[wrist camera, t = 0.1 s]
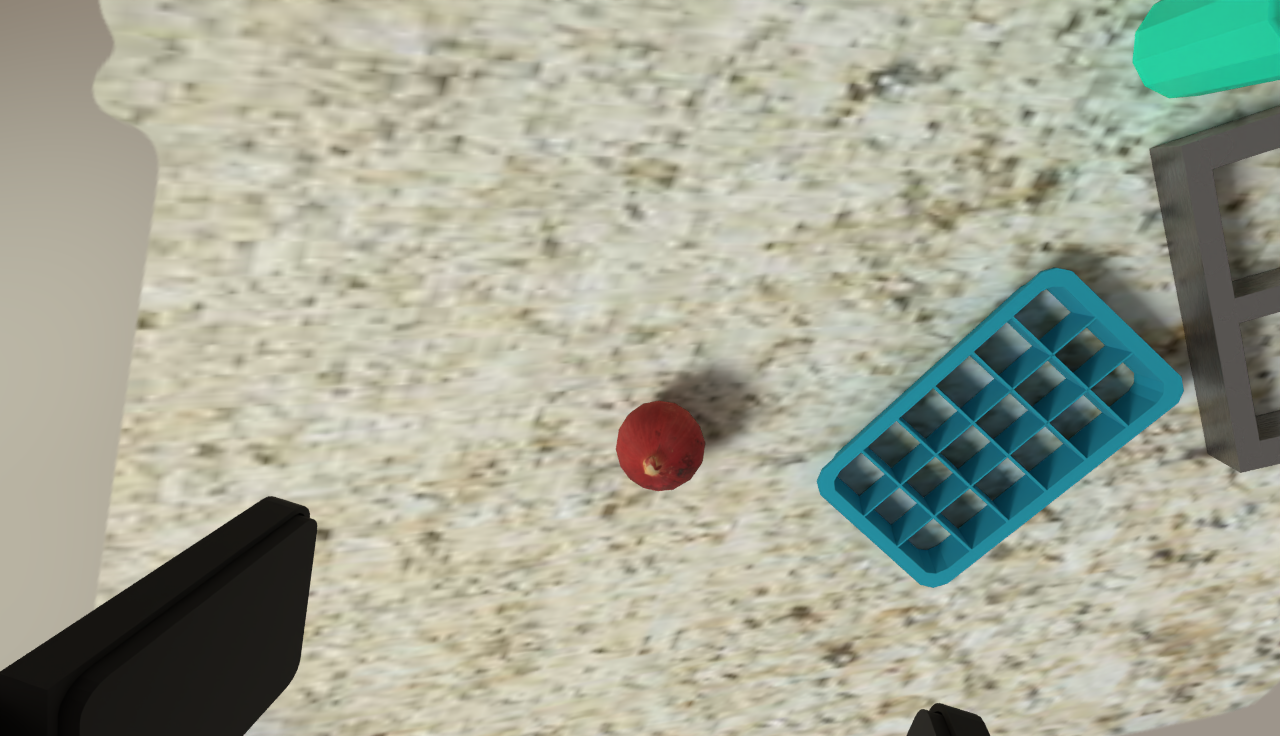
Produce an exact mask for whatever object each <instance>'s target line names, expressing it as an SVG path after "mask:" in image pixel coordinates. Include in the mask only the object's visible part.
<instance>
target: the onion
mask: <svg viewBox="0 0 1280 736" xmlns="http://www.w3.org/2000/svg"><path fill="white" fill-rule="evenodd" d="M704 448H705V441H704V438H703V435H702V432H701V429H700V426H699V424H698V423H697V422H696V421H695V419H694V418H693V417H692V416H691V414H690V413H689V412H688V411H687V410H685V409H683V408H682V407H680V406H678V405H677V404H675V403H670V402H663V401H655V402H650V403H645V404H642V405H641V406H639V407H638V408H636V409H635V410H634V411H632V412H631V413H630V414H629V415H628V416H627V417H626V419H625V421H624V422H623V424H622V425H621V427H620V429H619V433H618V439H617V446H616V451H617V455H618V459H619V462H620V466H621V468H622V469H623V470H624V472H625V473H626V474H627V476H628V477H629V478H630V480H632V481H633V482H635V483H637V484H638V485H640V486H641V487H643V488H646V489H651V490H655V491H664V490H673V489H675V488H677V487H678V486H680V485H682V484H684V483H685V482H687V481H689V480H690V479H691V478H692V477H693V475H694V474H695V472H696V471H697V470H698V468H699V467H700V465H701V464H702V461H703V455H704Z"/></svg>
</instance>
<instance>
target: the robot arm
mask: <svg viewBox="0 0 1280 736" xmlns="http://www.w3.org/2000/svg"><path fill="white" fill-rule="evenodd" d="M316 534H317V523H316V521H315V520H314V519H311V518H310V513H309V509H308V508H307V507H305V506H302V505H299V504H296V503H293V502H290V501H286V500H283V499H280V498H277V497H273V496H269V497H266V498H264V499H262V500H261V501H259V502H258V503H256V504H255V505H253V506H252V507H250V508H249V509H247V510H246V511H244V512H243V513H241V514H239V515H238V516H236V517H235V518H233V519H232V520H230V521H229V522H227V523H226V524H224V525H223V526H221V527H220V528H218V529H217V530H215V531H214V532H212V533H211V534H209V535H207V536H206V537H204V538H203V539H201V540H200V541H198V542H197V543H195V544H194V545H192V546H191V547H189V548H188V549H186V550H185V551H183V552H182V553H180V554H179V555H177V556H175V557H174V558H172V559H171V560H169V561H168V562H166V563H165V564H163V565H162V566H160V567H159V568H157V569H156V570H154V571H153V572H151V573H150V574H148V575H147V576H145V577H144V578H142V579H140V580H139V581H137V582H136V583H134V584H133V585H131V586H130V587H128V588H127V589H125V590H124V591H122V592H121V593H119V594H118V595H116V596H115V597H113V598H112V599H110V600H108V601H107V602H105V603H104V604H102V605H101V606H99V607H98V608H96V609H95V610H93V611H92V612H90V613H89V614H88V615H86V616H84V617H83V618H81V619H80V620H78V621H76V622H75V623H73V624H72V625H70V626H69V627H67V628H66V629H64V630H63V631H61V632H60V633H58V634H57V635H55V636H54V637H52V638H51V639H49V640H48V641H46V642H45V643H43V644H41V645H40V646H38V647H37V648H35V649H34V650H32V651H31V652H29V653H28V654H26V655H25V656H23V657H22V658H20V659H19V660H17V661H16V662H14V663H13V664H11V665H9V666H8V667H6V668H5V669H3V670H2V671H0V736H243V735H244V734H245V733H246V732H247V731H248V730H249V729H250V727H251V726H252V725H253V724H254V723H255V722H256V721H257V720H258V719H259V717H260V716H261V715H262V714H263V713H264V712H265V711H266V710H267V709H268V708H269V706H270V705H271V704H272V703H273V702H274V701H275V700H276V699H277V698H278V696H279V695H280V694H281V693H282V692H283V691H284V690H285V689H286V688H287V686H288V685H289V684H290V682H291V681H292V679H293V677H294V676H295V674H296V671H297V669H298V666H299V663H300V658H301V650H302V643H303V635H304V627H305V619H306V612H307V604H308V596H309V589H310V581H311V573H312V565H313V558H314V550H315V542H316ZM907 736H990V734H989V732H988V730H987V727H986V725H985V723H984V722H983V720H982V718H981V717H979V716H978V715H976V714H973V713H970V712H967V711H964V710H960V709H957V708H954V707H951V706H947V705H944V704H941V703H936V704H934V705H933V706H932V707H931V708H930V710H929V711H928V710H925V709H921V710H920V711H919V712H918V713H917V714H916V716H915V718H914V720H913V723H912V725H911V727H910V729H909V731H908V733H907Z"/></svg>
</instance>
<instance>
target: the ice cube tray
mask: <svg viewBox="0 0 1280 736" xmlns="http://www.w3.org/2000/svg"><path fill="white" fill-rule="evenodd" d="M1046 289H1047V290H1048V291H1049V292H1050V293H1051V294H1052V295H1053V296H1054V297H1055V298H1056V299H1058V300H1059V301H1060V302H1061V303H1062V304H1063V305H1064V306H1065V307H1066V308H1067V309H1068V310H1069V311H1070V312H1071V313H1069V314H1068V315H1067V316H1066V317H1065V318H1064V319H1063V320H1061V321H1060V322H1059V323H1058V324H1057V325H1056V326H1055V327H1053V328H1052V329H1051V330H1050V331H1049V332H1048V333H1046V334H1045V335H1044V336H1043V337H1042V338H1041V339H1040V340H1038V339H1037V338H1036V337H1035V336H1034V335H1033V334H1032V333H1031V332H1029V331H1028V330H1027V329H1026V328H1025V327H1024V326H1023V325H1022V324H1021V323H1020V322H1019V321H1018V320H1017V319H1016V318H1015V317H1014V315H1016V314H1017V313H1018V312H1019V311H1020V310H1021V309H1022V308H1023V307H1024V306H1026V305H1027V304H1028V303H1029V302H1030V301H1031V300H1032V299H1033V298H1035V297H1036V296H1037V295H1038V294H1039V293H1040V292H1041V291H1044V290H1046ZM1007 322H1008V323H1009V324H1010V325H1011V326H1012V327H1013V328H1014V329H1015V330H1016V331H1017V332H1018V333H1019V334H1020V335H1021V336H1022V337H1023V338H1024V339H1025V340H1026V341H1028V342H1029V343H1030V344H1031V345H1032V347H1030V348H1029V349H1028V350H1027V351H1026V352H1025V353H1023V354H1022V355H1021V356H1020V357H1019V358H1018V359H1017V360H1015V361H1014V362H1013V363H1012V364H1011V365H1010V366H1009V367H1007V368H1006V369H1005V370H1004V371H1003V372H1002V373H1000V374H999V375H998V374H997V373H996V372H994V371H993V370H992V369H991V368H990V367H989V366H988V365H987V364H986V363H985V362H984V361H983V360H982V359H981V358H980V357H979V356H977V355H976V354H975V353H974V351H975V350H976V349H977V348H979V347H980V346H981V345H982V344H983V343H984V342H985V341H986V340H988V339H989V338H990V337H991V336H992V335H993V334H994V333H995V332H996V331H998V330H999V329H1000V328H1001V327H1002V326H1003V325H1004V324H1005V323H1007ZM1086 327H1087V328H1088V329H1089V330H1090V331H1091V332H1092V333H1093V334H1094V335H1095V336H1096V337H1097V338H1098V339H1099V340H1100V341H1101V342H1102V343H1103V344H1104V345H1105V346H1104V347H1103V348H1102V349H1100V350H1099V351H1098V352H1097V353H1096V354H1095V355H1093V356H1092V357H1091V358H1090V359H1089V360H1087V361H1086V362H1085V363H1084V364H1083V365H1081V366H1080V367H1079V368H1078V369H1077V370H1075V371H1074V372H1071V371H1070V370H1069V369H1068V368H1067V367H1066V366H1065V365H1064V364H1063V363H1062V362H1061V361H1060V360H1059V359H1058V358H1057V357H1056V356H1055V354H1056V353H1057V352H1058V351H1059V350H1060V349H1062V348H1063V347H1064V346H1065V345H1066V344H1067V343H1069V342H1070V341H1071V340H1072V339H1073V338H1074V337H1076V336H1077V335H1078V334H1079V333H1080V332H1081V331H1083V330H1084V329H1085V328H1086ZM968 356H971V357H972V358H973V359H974V360H975V361H976V362H977V363H978V364H979V365H980V366H981V367H983V368H984V369H985V370H986V371H987V372H988V373H989V374H990V375H991V376H992V377H993V378H994V380H992V381H991V382H990V383H989V384H988V385H987V386H986V387H984V388H983V389H982V390H981V391H980V392H979V393H977V394H976V395H975V396H974V397H973V398H972V399H971V400H969V401H968V402H967V403H966V404H965V405H964V406H962V407H961V408H959V407H958V406H957V405H956V404H955V403H954V402H953V401H952V400H951V399H950V398H949V397H947V396H946V395H945V394H944V393H943V392H942V391H941V390H940V389H939V388H938V387H937V386H936V385H937V384H938V383H939V382H941V381H942V380H943V379H944V378H945V377H946V376H947V375H948V374H949V373H951V372H952V371H953V370H954V369H955V368H956V367H957V366H958V365H960V364H961V363H962V362H963V361H964V360H965V359H966V358H967V357H968ZM1046 361H1049V362H1050V363H1051V364H1052V365H1053V366H1054V367H1055V368H1056V369H1057V370H1058V371H1059V372H1060V373H1061V374H1062V375H1063V376H1064V377H1065V378H1066V379H1065V380H1064V381H1062V382H1061V383H1060V384H1059V385H1058V386H1056V387H1055V388H1054V389H1053V390H1052V391H1050V392H1049V393H1048V394H1047V395H1046V396H1044V397H1043V398H1042V399H1041V400H1040V401H1038V402H1037V403H1036V404H1035V405H1034V406H1033V407H1032V406H1031V405H1030V404H1028V403H1027V402H1026V401H1025V400H1024V399H1023V398H1022V397H1021V396H1020V395H1019V394H1018V393H1017V392H1016V391H1015V390H1014V389H1015V388H1016V387H1017V386H1018V385H1020V384H1021V383H1022V382H1023V381H1024V380H1025V379H1027V378H1028V377H1029V376H1030V375H1031V374H1032V373H1034V372H1035V371H1036V370H1037V369H1038V368H1039V367H1041V366H1042V365H1043V364H1044V363H1045V362H1046ZM1122 362H1123V363H1124V364H1125V365H1126V366H1127V367H1128V368H1129V369H1130V370H1131V371H1133V372H1134V383H1133V385H1132V387H1131V388H1130V390H1129V391H1128V392H1127V393H1126V394H1125V395H1123V396H1122V397H1121V398H1120V399H1118V400H1117V401H1116V402H1115V403H1113V404H1112V405H1111V406H1110V407H1108V406H1107V405H1106V404H1105V403H1104V402H1103V401H1102V400H1101V399H1100V398H1099V397H1098V396H1097V395H1096V394H1095V393H1094V392H1092V391H1091V390H1090V389H1091V388H1092V387H1093V386H1095V385H1096V384H1097V383H1098V382H1099V381H1101V380H1102V379H1103V378H1104V377H1105V376H1107V375H1108V374H1109V373H1110V372H1112V371H1113V370H1114V369H1115V368H1116V367H1118V366H1119V365H1120V364H1121V363H1122ZM933 388H934V389H935V390H936V391H937V392H938V393H939V394H940V395H941V396H942V397H943V398H944V399H945V400H947V401H948V402H949V403H950V404H951V405H952V406H953V407H954V408H955V409H956V410H957V412H956V413H954V414H953V415H952V416H951V417H950V418H949V419H948V420H946V421H945V422H944V423H943V424H942V425H941V426H939V427H938V428H937V429H936V430H935V431H934V432H933V433H931V434H930V435H929V436H928V437H927V438H926V439H925V438H924V437H923V436H922V435H920V434H919V433H918V432H917V431H916V430H915V429H914V428H913V427H912V426H911V425H910V424H909V423H907V422H906V421H905V420H904V419H903V418H902V417H901V416H902V415H904V414H905V413H906V412H907V411H908V410H909V409H910V408H911V407H913V406H914V405H915V404H916V403H917V402H918V401H919V400H920V399H921V398H923V397H924V396H925V395H926V394H927V393H928V392H929V391H930V390H932V389H933ZM1183 391H1184V389H1183V383H1182V377H1181V376H1180V375H1179V374H1178V373H1177V372H1176V371H1175V370H1174V369H1173V368H1172V367H1171V366H1170V365H1169V364H1168V363H1166V362H1165V361H1164V360H1163V359H1162V358H1161V357H1160V356H1159V355H1158V354H1157V353H1156V352H1155V351H1154V350H1153V349H1152V348H1151V347H1150V346H1149V345H1148V344H1147V343H1146V342H1145V341H1144V340H1143V339H1142V338H1141V337H1140V336H1139V335H1138V334H1137V333H1135V332H1134V331H1133V330H1132V329H1131V328H1130V327H1129V326H1128V325H1127V324H1126V323H1125V322H1124V321H1123V320H1122V319H1121V318H1120V317H1119V316H1118V315H1117V314H1116V313H1115V312H1114V311H1113V310H1112V309H1111V308H1110V307H1109V306H1108V305H1107V304H1106V303H1104V302H1103V301H1102V300H1101V299H1100V298H1099V297H1098V296H1097V295H1096V294H1095V293H1094V292H1093V291H1092V290H1091V289H1090V288H1089V287H1088V286H1087V285H1086V284H1085V283H1084V282H1083V281H1082V280H1081V279H1080V278H1079V277H1078V276H1077V275H1076V274H1075V273H1073V272H1072V271H1070V270H1065V269H1060V268H1055V267H1054V268H1051V269H1047V270H1044V271H1040V272H1039V273H1038V274H1037V275H1036V276H1035V277H1034V278H1033V279H1031V280H1030V281H1029V282H1028V283H1027V284H1026V285H1023V286H1021V287H1020V288H1019V289H1018V290H1017V291H1015V292H1014V293H1013V294H1012V295H1011V296H1010V297H1009V298H1008V299H1007V300H1006V301H1004V302H1003V303H1002V304H1001V305H1000V306H999V307H998V308H997V309H996V310H994V311H993V312H992V313H991V314H990V315H989V316H988V317H987V318H986V319H985V320H983V321H982V322H981V323H980V324H979V325H978V326H977V327H976V328H975V329H973V330H972V331H971V332H970V333H969V334H968V335H967V336H966V337H965V338H964V339H962V340H961V341H960V342H959V343H958V344H957V345H956V346H955V347H954V348H952V349H951V350H950V351H949V352H948V353H947V354H946V355H945V356H944V357H943V358H941V359H940V360H939V361H938V362H937V363H936V364H935V365H934V366H933V367H931V368H930V369H929V370H928V371H927V372H926V373H925V374H924V375H923V376H922V377H920V378H919V379H918V380H917V381H916V382H915V383H914V384H913V385H912V386H910V387H909V388H908V389H907V390H906V391H905V392H904V393H903V394H902V395H901V396H899V397H898V398H897V399H896V400H895V401H894V402H893V403H892V404H891V405H889V406H888V407H887V408H886V409H885V410H884V411H883V412H882V413H881V414H880V415H878V416H877V417H876V418H875V419H874V420H873V421H872V422H871V423H870V424H868V425H867V426H866V427H865V428H864V429H863V430H862V431H861V432H860V433H859V434H857V435H856V436H855V437H854V438H853V439H852V440H851V441H850V442H849V443H847V444H846V445H845V446H844V447H843V448H842V449H841V450H840V451H839V452H838V453H836V455H835V456H834V458H833V459H832V460H831V461H830V462H829V463H828V464H827V465H826V466H825V467H823V468H822V470H821V472H820V475H819V477H818V479H817V484H818V488H819V491H820V495H821V496H822V497H823V498H824V499H826V500H827V501H828V502H829V503H830V504H831V505H832V506H833V507H834V508H836V509H837V510H838V511H839V512H840V513H841V514H842V515H843V516H845V517H846V518H847V519H848V520H849V521H850V522H851V523H852V524H853V525H855V526H856V527H857V528H858V529H859V530H860V531H861V532H862V533H863V534H865V535H866V536H867V537H868V538H869V539H870V540H871V541H872V542H873V543H875V544H876V545H877V546H878V547H879V548H880V549H881V550H882V551H883V552H885V553H886V554H887V555H888V556H889V557H890V558H891V559H892V560H893V561H895V562H896V563H897V564H898V565H899V566H900V567H901V568H902V569H903V570H905V571H906V572H907V573H908V574H909V575H910V576H911V577H912V578H913V579H915V580H916V581H917V582H918V583H919V584H920V585H924V586H928V587H932V588H934V587H938V586H941V585H944V584H948V583H949V582H950V581H951V580H953V579H954V578H955V577H957V576H958V575H959V574H960V573H962V572H963V571H964V570H965V569H967V568H968V567H969V566H971V565H972V564H973V563H974V562H976V561H977V560H978V559H980V558H981V557H982V556H983V555H985V554H986V553H987V552H988V551H990V550H991V549H992V548H994V547H995V546H996V545H997V544H999V543H1000V542H1001V541H1002V540H1004V539H1005V538H1006V537H1008V536H1009V535H1010V534H1011V533H1013V532H1014V531H1015V530H1017V529H1018V528H1019V527H1020V526H1022V525H1023V524H1024V523H1025V522H1027V521H1028V520H1029V519H1031V518H1032V517H1033V516H1034V515H1036V514H1037V513H1038V512H1040V511H1041V510H1042V509H1043V508H1045V507H1046V506H1047V505H1048V504H1050V503H1051V502H1052V501H1054V500H1055V499H1056V498H1057V497H1059V496H1060V495H1061V494H1063V493H1064V492H1065V491H1066V490H1068V489H1069V488H1070V487H1071V486H1073V485H1074V484H1075V483H1077V482H1078V481H1079V480H1080V479H1082V478H1083V477H1084V476H1086V475H1087V474H1088V473H1089V472H1091V471H1092V470H1093V469H1094V468H1096V467H1097V466H1098V465H1100V464H1101V463H1102V462H1103V461H1105V460H1106V459H1107V458H1108V457H1110V456H1111V455H1112V454H1114V453H1115V452H1116V451H1117V450H1119V449H1120V448H1121V447H1123V446H1124V445H1125V444H1126V443H1128V442H1129V441H1130V440H1131V439H1133V438H1134V437H1135V436H1137V435H1138V434H1139V433H1140V432H1142V431H1143V430H1144V429H1146V428H1147V427H1148V426H1149V425H1151V424H1152V423H1153V422H1154V421H1156V420H1157V419H1158V418H1160V417H1161V416H1162V415H1163V414H1165V413H1166V412H1167V411H1169V410H1170V409H1171V408H1172V407H1174V406H1175V405H1176V404H1177V403H1178V402H1179V400H1180V398H1181V396H1182V394H1183ZM1009 393H1010V394H1011V395H1012V396H1013V397H1014V398H1016V399H1017V400H1018V401H1019V402H1020V403H1021V404H1022V405H1023V406H1024V407H1025V408H1026V409H1027V410H1028V411H1027V412H1025V413H1024V414H1023V415H1022V416H1021V417H1019V418H1018V419H1017V420H1016V421H1015V422H1013V423H1012V424H1011V425H1010V426H1009V427H1007V428H1006V429H1005V430H1004V431H1003V432H1002V433H1000V434H999V435H998V436H997V437H996V438H994V439H993V438H991V437H990V436H989V435H988V434H987V433H986V432H985V431H984V430H983V429H982V428H981V427H980V426H979V425H978V424H976V423H975V422H976V421H977V420H979V419H980V418H981V417H982V416H983V415H984V414H986V413H987V412H988V411H989V410H990V409H991V408H993V407H994V406H995V405H996V404H997V403H998V402H1000V401H1001V400H1002V399H1003V398H1004V397H1005V396H1007V395H1008V394H1009ZM1082 395H1084V396H1085V397H1086V398H1087V399H1089V400H1090V401H1091V402H1092V403H1093V404H1094V405H1095V406H1096V407H1097V408H1098V409H1099V410H1100V411H1101V412H1102V413H1101V414H1100V415H1099V416H1097V417H1096V418H1095V419H1094V420H1092V421H1091V422H1090V423H1089V424H1087V425H1086V426H1085V427H1084V428H1082V429H1081V430H1080V431H1079V432H1077V433H1076V434H1075V435H1074V436H1073V437H1071V438H1070V439H1069V440H1067V439H1066V438H1065V437H1064V436H1062V435H1061V434H1060V433H1059V432H1058V431H1057V430H1056V429H1055V428H1054V427H1053V426H1052V425H1051V424H1050V422H1051V421H1052V420H1053V419H1055V418H1056V417H1057V416H1058V415H1059V414H1061V413H1062V412H1063V411H1064V410H1065V409H1067V408H1068V407H1069V406H1070V405H1072V404H1073V403H1074V402H1075V401H1076V400H1078V399H1079V398H1080V397H1081V396H1082ZM896 421H897V422H898V423H899V424H900V425H902V426H903V427H904V428H905V429H906V430H907V431H908V432H909V433H910V434H911V435H912V436H913V437H915V438H916V439H917V440H918V441H919V442H920V444H919V445H918V446H916V447H915V448H914V449H913V450H912V451H911V452H910V453H908V454H907V455H906V456H905V457H904V458H903V459H902V460H900V461H899V462H898V463H897V464H896V465H895V466H893V467H892V468H891V467H890V466H888V465H887V464H886V463H885V462H884V461H883V460H882V459H881V458H880V457H879V456H878V455H876V454H875V453H874V452H873V451H872V450H871V449H870V448H869V447H868V446H869V445H870V444H871V443H872V442H873V441H874V440H876V439H877V438H878V437H879V436H880V435H881V434H882V433H883V432H885V431H886V430H887V429H888V428H889V427H890V426H891V425H892V424H893V423H895V422H896ZM972 425H973V426H974V427H976V428H977V429H978V430H979V431H980V432H981V433H982V434H983V435H984V436H985V437H986V438H987V439H988V440H990V441H991V442H990V443H988V444H987V445H986V446H985V447H984V448H982V449H981V450H980V451H979V452H978V453H976V454H975V455H974V456H973V457H972V458H970V459H969V460H968V461H967V462H966V463H965V464H963V465H962V466H961V467H960V468H959V469H957V468H956V467H955V466H954V465H953V464H952V463H951V462H950V461H949V460H948V459H947V458H945V457H944V456H943V455H942V454H941V453H940V452H941V451H942V450H944V449H945V448H946V447H947V446H948V445H949V444H951V443H952V442H953V441H954V440H955V439H956V438H958V437H959V436H960V435H961V434H962V433H963V432H965V431H966V430H967V429H968V428H969V427H970V426H972ZM1044 427H1046V428H1047V429H1048V430H1050V431H1051V432H1052V433H1053V434H1054V435H1055V436H1056V437H1057V438H1058V439H1059V440H1060V441H1061V442H1062V443H1063V445H1061V446H1060V447H1059V448H1058V449H1056V450H1055V451H1054V452H1053V453H1051V454H1050V455H1049V456H1048V457H1046V458H1045V459H1044V460H1043V461H1042V462H1040V463H1039V464H1038V465H1037V466H1035V467H1034V468H1033V469H1032V470H1030V471H1029V472H1028V471H1027V470H1026V469H1025V468H1024V467H1023V466H1022V465H1020V464H1019V463H1018V462H1017V461H1016V460H1015V459H1014V458H1013V457H1012V456H1011V454H1012V453H1013V452H1014V451H1016V450H1017V449H1018V448H1019V447H1021V446H1022V445H1023V444H1024V443H1025V442H1027V441H1028V440H1029V439H1030V438H1031V437H1033V436H1034V435H1035V434H1036V433H1038V432H1039V431H1040V430H1041V429H1042V428H1044ZM860 453H862V454H864V455H865V456H866V457H867V458H868V459H869V460H870V461H871V462H872V463H873V464H874V465H876V466H877V467H878V468H879V469H880V470H881V471H882V472H883V473H884V475H883V476H882V477H881V478H880V479H879V480H877V481H876V482H875V483H874V484H873V485H872V486H870V487H869V488H868V489H867V490H866V491H865V492H864V493H862V494H861V495H860V496H859V495H858V494H856V493H855V492H854V491H853V490H852V489H851V488H850V487H849V486H848V485H846V484H845V483H844V482H843V481H842V480H841V479H840V478H839V477H838V474H839V472H840V471H841V470H842V469H843V468H844V467H845V466H846V465H848V464H849V463H850V462H851V461H852V460H853V459H854V458H855V457H857V456H858V455H859V454H860ZM934 457H936V458H937V459H938V460H940V461H941V462H942V463H943V464H944V465H945V466H946V467H947V468H948V469H949V470H950V471H951V472H953V474H951V475H950V476H949V477H948V478H947V479H945V480H944V481H943V482H942V483H941V484H939V485H938V486H937V487H936V488H935V489H934V490H932V491H931V492H930V493H929V494H928V495H926V496H925V497H922V496H921V495H920V494H919V493H918V492H917V491H916V490H915V489H914V488H913V487H911V486H910V485H909V484H908V483H907V482H906V481H907V480H909V479H910V478H911V477H912V476H913V475H914V474H916V473H917V472H918V471H919V470H920V469H921V468H923V467H924V466H925V465H926V464H927V463H928V462H930V461H931V460H932V459H933V458H934ZM1007 457H1008V458H1009V459H1010V460H1011V461H1012V462H1013V463H1014V464H1015V465H1016V466H1017V467H1019V468H1020V469H1021V470H1022V471H1023V472H1024V473H1025V475H1024V476H1023V477H1022V478H1020V479H1019V480H1018V481H1017V482H1015V483H1014V484H1013V485H1012V486H1011V487H1009V488H1008V489H1007V490H1006V491H1004V492H1003V493H1002V494H1001V495H999V496H998V497H997V498H996V499H994V500H993V501H992V500H991V499H990V498H989V497H988V496H987V495H986V494H984V493H983V492H982V491H981V490H980V489H979V488H978V487H977V486H976V485H975V484H976V483H977V482H978V481H979V480H980V479H982V478H983V477H984V476H985V475H987V474H988V473H989V472H990V471H991V470H993V469H994V468H995V467H996V466H997V465H999V464H1000V463H1001V462H1002V461H1004V460H1005V459H1006V458H1007ZM899 487H900V488H901V489H902V490H903V491H904V492H905V493H906V494H907V495H909V496H910V497H911V498H912V499H913V500H914V501H915V502H916V503H917V504H916V505H914V506H913V507H912V508H911V509H910V510H908V511H907V512H906V513H905V514H904V515H903V516H901V517H900V518H899V519H898V520H897V521H895V522H894V523H893V524H892V525H891V524H890V523H888V522H887V521H886V520H885V519H884V518H883V517H882V516H881V515H880V514H879V513H877V512H876V511H875V510H874V509H875V508H876V507H877V506H878V505H879V504H880V503H882V502H883V501H884V500H885V499H886V498H887V497H889V496H890V495H891V494H892V493H893V492H894V491H896V490H897V489H898V488H899ZM968 489H971V490H972V491H973V492H974V493H975V494H976V495H978V496H979V497H980V498H981V499H982V500H983V501H984V502H985V503H986V504H987V506H986V507H985V508H983V509H982V510H981V511H980V512H978V513H977V514H976V515H975V516H973V517H972V518H971V519H970V520H968V521H967V522H966V523H965V524H963V525H962V526H961V527H960V528H958V529H957V528H956V527H955V526H954V525H953V524H952V523H951V522H950V521H949V520H948V519H947V518H945V517H944V516H943V515H942V514H941V513H940V512H942V511H943V510H944V509H945V508H946V507H948V506H949V505H950V504H951V503H953V502H954V501H955V500H956V499H957V498H959V497H960V496H961V495H962V494H963V493H965V492H966V491H967V490H968ZM933 518H934V519H935V520H936V521H937V522H938V523H939V524H940V525H941V526H943V527H944V528H945V529H946V530H947V531H948V532H949V533H950V534H951V535H950V536H949V537H947V538H946V539H945V540H944V541H942V542H941V543H940V544H939V545H937V546H935V547H933V548H930V549H928V550H922V549H917V548H916V547H915V546H914V545H913V544H912V543H911V542H909V541H908V539H909V538H910V537H911V536H912V535H914V534H915V533H916V532H917V531H919V530H920V529H921V528H922V527H923V526H925V525H926V524H927V523H928V522H929V521H931V520H932V519H933Z"/></svg>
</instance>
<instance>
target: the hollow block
mask: <svg viewBox="0 0 1280 736" xmlns="http://www.w3.org/2000/svg"><path fill="white" fill-rule="evenodd" d="M1276 148H1280V106H1277V107H1274V108H1271V109H1268V110H1265V111H1262V112H1259V113H1256V114H1253V115H1250V116H1247V117H1244V118H1241V119H1238V120H1235V121H1232V122H1229V123H1226V124H1223V125H1220V126H1217V127H1214V128H1211V129H1208V130H1204V131H1201V132H1198V133H1195V134H1192V135H1189V136H1186V137H1183V138H1180V139H1177V140H1174V141H1171V142H1168V143H1165V144H1162V145H1159V146H1156V147H1153V148H1150V155H1151V160H1152V165H1153V170H1154V175H1155V181H1156V186H1157V191H1158V196H1159V202H1160V207H1161V212H1162V217H1163V222H1164V228H1165V233H1166V238H1167V243H1168V249H1169V254H1170V259H1171V264H1172V269H1173V275H1174V280H1175V285H1176V290H1177V296H1178V301H1179V306H1180V311H1181V316H1182V322H1183V327H1184V332H1185V337H1186V343H1187V348H1188V353H1189V358H1190V363H1191V369H1192V374H1193V379H1194V384H1195V390H1196V395H1197V400H1198V405H1199V410H1200V416H1201V421H1202V426H1203V431H1204V437H1205V442H1206V447H1207V452H1208V454H1209V455H1210V456H1212V457H1214V458H1216V459H1217V460H1219V461H1221V462H1223V463H1225V464H1226V465H1228V466H1230V467H1232V468H1233V469H1235V470H1237V471H1239V472H1240V473H1242V472H1246V471H1250V470H1255V469H1259V468H1263V467H1267V466H1272V465H1276V464H1280V411H1276V412H1272V413H1268V414H1264V415H1260V416H1256V417H1255V412H1254V406H1253V400H1252V395H1251V389H1250V383H1249V377H1248V372H1247V366H1246V360H1245V355H1244V349H1243V343H1242V337H1241V332H1240V326H1239V323H1241V322H1245V321H1248V320H1252V319H1256V318H1259V317H1263V316H1266V315H1270V314H1274V313H1277V312H1280V268H1277V269H1274V270H1270V271H1267V272H1263V273H1260V274H1256V275H1253V276H1250V277H1246V278H1243V279H1239V280H1236V281H1232V280H1231V274H1230V268H1229V263H1228V257H1227V251H1226V245H1225V240H1224V234H1223V228H1222V222H1221V217H1220V211H1219V205H1218V199H1217V194H1216V188H1215V182H1214V176H1213V171H1212V169H1214V168H1217V167H1220V166H1224V165H1227V164H1230V163H1233V162H1236V161H1239V160H1242V159H1245V158H1248V157H1252V156H1255V155H1258V154H1261V153H1264V152H1267V151H1270V150H1273V149H1276Z"/></svg>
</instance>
